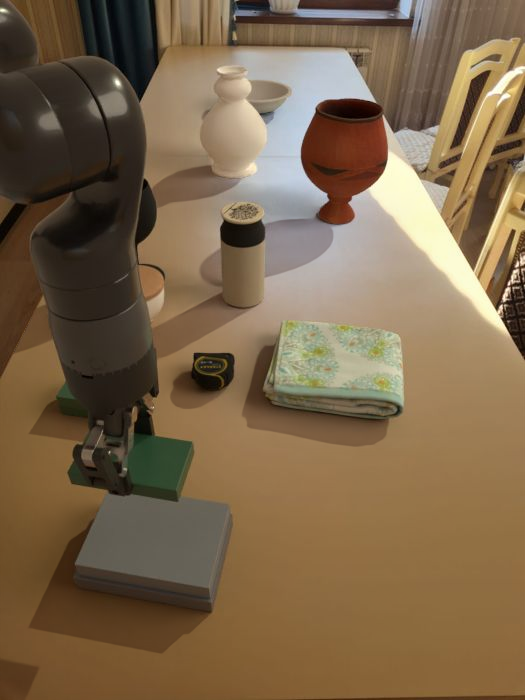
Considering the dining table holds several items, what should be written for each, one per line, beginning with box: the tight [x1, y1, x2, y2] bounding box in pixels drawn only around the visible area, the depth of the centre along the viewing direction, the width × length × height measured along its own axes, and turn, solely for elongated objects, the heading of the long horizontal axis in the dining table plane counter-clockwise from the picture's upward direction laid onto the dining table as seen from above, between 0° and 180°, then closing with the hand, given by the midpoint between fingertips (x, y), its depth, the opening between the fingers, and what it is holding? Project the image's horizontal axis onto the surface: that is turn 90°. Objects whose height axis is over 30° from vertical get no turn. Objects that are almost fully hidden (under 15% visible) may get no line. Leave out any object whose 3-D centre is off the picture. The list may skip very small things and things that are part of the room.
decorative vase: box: [199, 65, 268, 179], centre depth 141 cm, size 18×18×25 cm
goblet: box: [300, 97, 389, 225], centre depth 121 cm, size 19×19×25 cm
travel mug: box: [219, 201, 266, 308], centre depth 99 cm, size 8×8×18 cm
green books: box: [55, 381, 88, 419], centre depth 82 cm, size 11×6×4 cm, turn 80°
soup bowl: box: [245, 79, 293, 114], centre depth 183 cm, size 24×24×7 cm
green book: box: [66, 430, 195, 502], centre depth 54 cm, size 11×6×2 cm, turn 80°
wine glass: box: [135, 177, 166, 281], centre depth 102 cm, size 10×10×20 cm
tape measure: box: [190, 352, 236, 391], centre depth 86 cm, size 7×7×4 cm
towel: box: [262, 319, 405, 420], centre depth 87 cm, size 18×21×5 cm
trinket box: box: [138, 265, 165, 323], centre depth 97 cm, size 11×11×9 cm
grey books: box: [72, 490, 234, 613], centre depth 64 cm, size 16×11×5 cm
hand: (133, 463), depth 55 cm, fingers closed on green book, 6 cm apart
